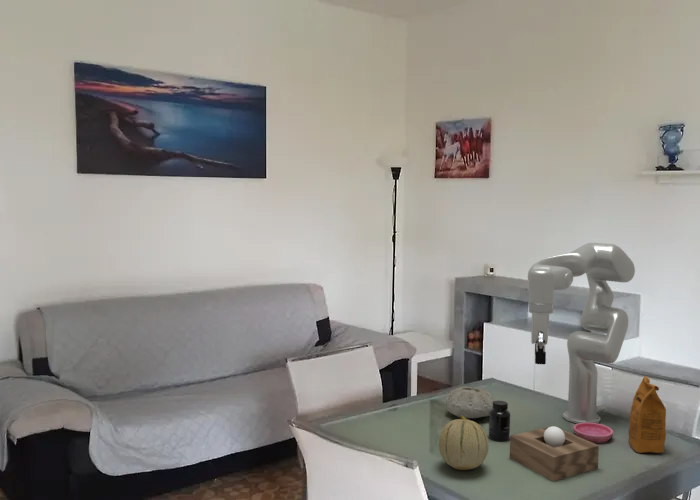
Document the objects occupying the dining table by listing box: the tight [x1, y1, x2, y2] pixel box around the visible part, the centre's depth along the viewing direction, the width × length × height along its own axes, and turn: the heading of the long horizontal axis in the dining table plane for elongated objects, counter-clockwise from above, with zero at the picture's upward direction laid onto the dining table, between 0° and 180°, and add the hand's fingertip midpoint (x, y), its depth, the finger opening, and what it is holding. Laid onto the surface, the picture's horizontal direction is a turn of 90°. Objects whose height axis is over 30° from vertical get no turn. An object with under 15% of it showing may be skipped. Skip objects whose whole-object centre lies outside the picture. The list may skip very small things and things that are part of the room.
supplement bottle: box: [488, 400, 511, 442], centre depth 217 cm, size 7×7×12 cm
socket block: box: [509, 425, 600, 482], centre depth 197 cm, size 18×18×7 cm
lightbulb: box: [544, 425, 565, 448], centre depth 198 cm, size 6×6×11 cm
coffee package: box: [628, 376, 667, 454], centre depth 209 cm, size 10×12×22 cm
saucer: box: [572, 423, 614, 444], centre depth 218 cm, size 12×12×3 cm
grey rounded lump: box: [445, 385, 496, 420], centre depth 238 cm, size 18×18×10 cm
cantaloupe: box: [438, 415, 489, 471], centre depth 194 cm, size 15×15×15 cm
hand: (540, 359), depth 212 cm, fingers open, 9 cm apart
